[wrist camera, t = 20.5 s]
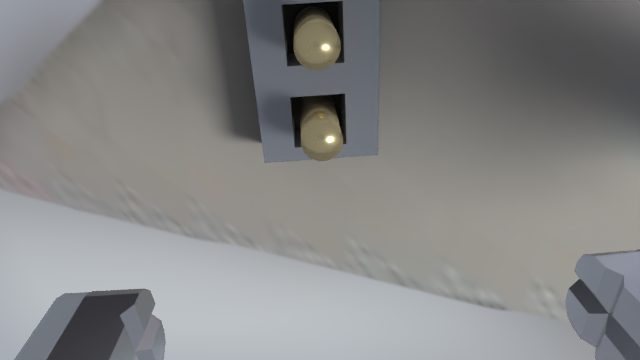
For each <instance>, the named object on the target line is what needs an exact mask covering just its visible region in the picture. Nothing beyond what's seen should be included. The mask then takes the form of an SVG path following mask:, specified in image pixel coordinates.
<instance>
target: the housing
mask: <svg viewBox="0 0 640 360" xmlns="http://www.w3.org/2000/svg"><path fill="white" fill-rule="evenodd" d="M330 1H338V11H339V38H340V42H341V50H340V54H339V57H338V58H337V60H336V61H335V63H334V64H333V65H331V66H330V67H328V68H326V69H324V70H319V71H315V70H310V69H308V68H306V67H304V66H303V65H301V64H300V63H299V61H298V60H297V58H296V56H295V54H294V55H288V50H287V39H286V27H285V16H284V4H300V3H315V2H330ZM243 5H244V13H245V20H246V28H247V35H248V43H249V50H250V58H251V65H252V72H253V80H254V87H255V95H256V102H257V110H258V117H259V125H260V132H261V140H262V147H263V155H264V162H265V163H270V162H284V161H298V160H312V159H311V158H310V157H308V156H307V155H306V154H305V153H304V151H303V149H302V146H301V130H295V127H294V116H293V105H292V97H303V96H317V95H332V94H341V108H342V127H340V128H341V133H342V137H343V146H342V149H341V150H340V152H339V153H338V154H337V155H336V156H335V157H334V158H339V157H353V156H367V155H378V115H379V47H380V0H243Z"/></svg>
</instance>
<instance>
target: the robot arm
mask: <svg viewBox="0 0 640 360" xmlns="http://www.w3.org/2000/svg"><path fill="white" fill-rule="evenodd" d="M574 271H575V273H576V274H577V276H578V277H579V280H578V281H577V282H575V283H574V284H573V285H572V286H571V287H570V288H569V290H568V293H567V297H566V301H565V302H566V309H567V316H568V318H569V320H570V323H571V325H572V327H573V328H574V330H575V331H576V333H577V334H578V335H579V337H580V338H581V339H583V340H585V341H586V342H588V343H589V344H591V345H593V346H594V347H596V351H595V359H596V360H640V249H638V250H630V251H619V252H607V253H595V254H584V255H583V256H582V257H581V258H580V259H579V260H578V262H577V265H576V267H575V270H574ZM154 306H155V302H154V299H153V297H152V294H151V291H150V290H147V289H129V290H111V291H92V292H85V293H66V294H63V295H61V296H60V297H58V298H57V299H56V300H55V301H54V302H53V304H52V305H51V307H50V308H49V310H48V311H47V313H46V314H45V316H44V317H43V319H42V320H41V322H40V323H39V324H38V326H37V327H36V329H35V330H34V332H33V333H32V335H31V336H30V337H29V339H28V341H27V342H26V343H25V345H24V346H23V348H22V349H21V351H20V352H19V353H18V355H17V356H16V358H15V359H14V360H163V359H164V352H165V333H164V328H163V325H162V322H161V320H159V319H158V318H156V317H155V316H154V315H152V311H153V308H154Z"/></svg>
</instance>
